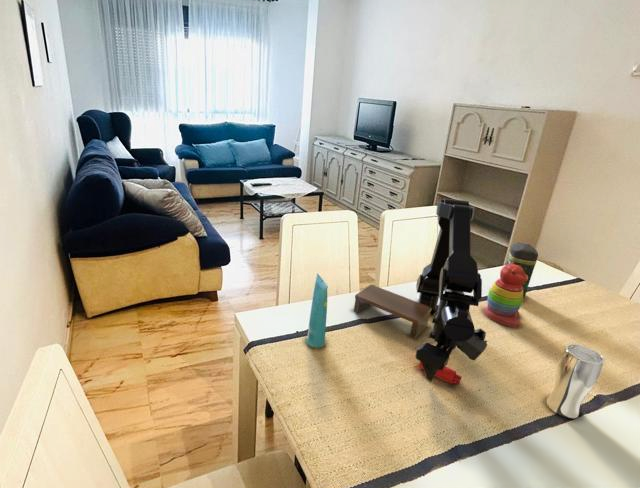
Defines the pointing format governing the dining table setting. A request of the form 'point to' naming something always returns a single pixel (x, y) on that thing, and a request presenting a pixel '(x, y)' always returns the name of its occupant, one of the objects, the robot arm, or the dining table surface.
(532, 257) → the coffee jar
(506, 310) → the stacking bear
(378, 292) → the shelf
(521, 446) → the dining table surface
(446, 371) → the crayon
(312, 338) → the tube
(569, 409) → the silver metal cylinder
